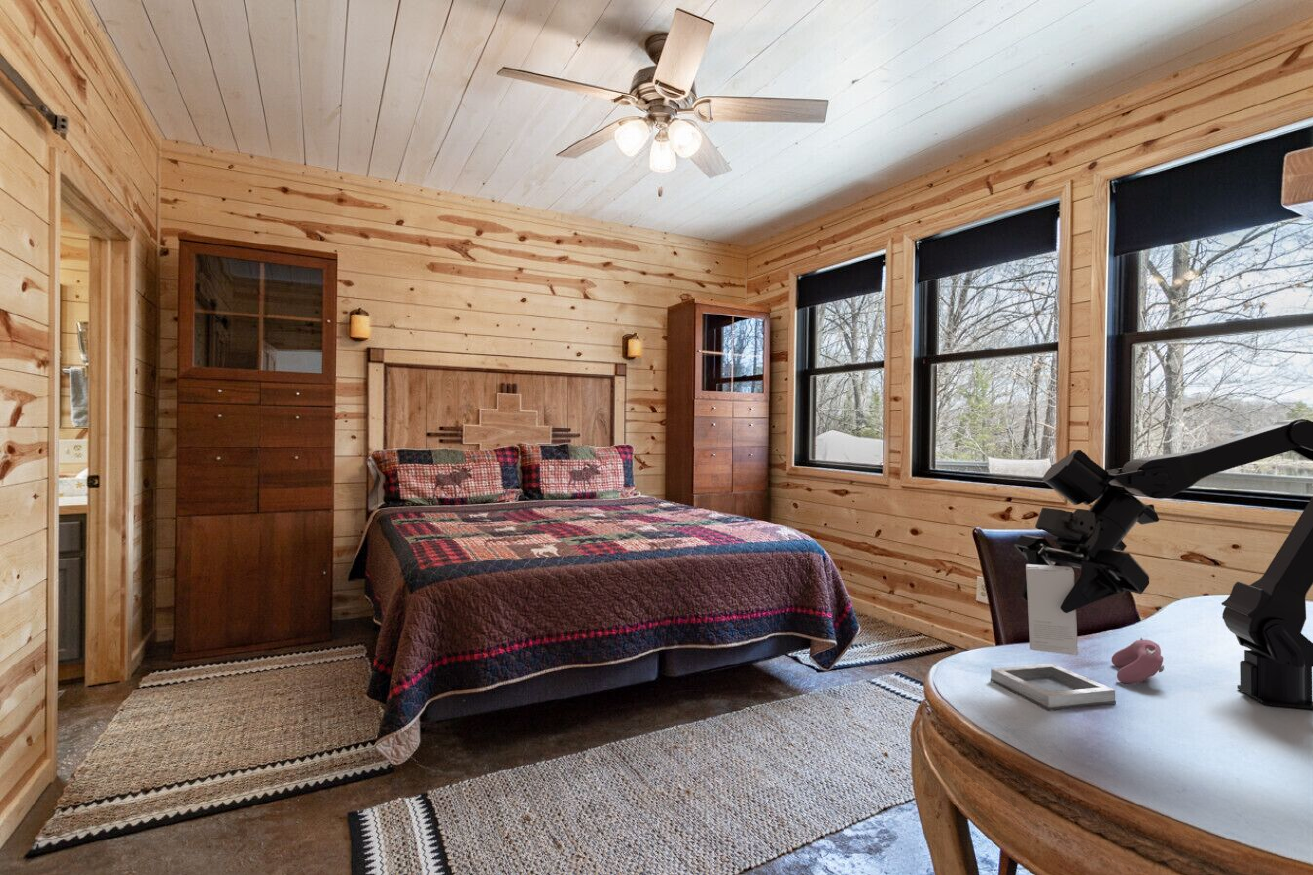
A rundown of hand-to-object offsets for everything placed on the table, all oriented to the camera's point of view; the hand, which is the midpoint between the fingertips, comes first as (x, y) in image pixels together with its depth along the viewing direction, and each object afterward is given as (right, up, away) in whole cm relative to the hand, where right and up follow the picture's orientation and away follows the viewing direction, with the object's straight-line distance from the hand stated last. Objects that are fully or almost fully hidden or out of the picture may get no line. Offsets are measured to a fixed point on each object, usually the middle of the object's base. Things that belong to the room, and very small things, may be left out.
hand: (1042, 604), depth 93 cm
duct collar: (+1, -13, 0) cm, 13 cm away
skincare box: (+1, -7, 0) cm, 7 cm away
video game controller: (+18, -13, +6) cm, 23 cm away
